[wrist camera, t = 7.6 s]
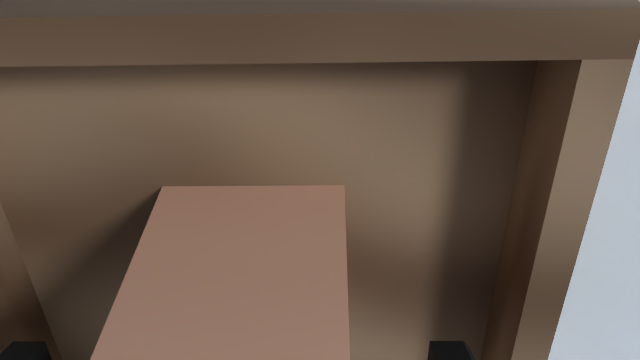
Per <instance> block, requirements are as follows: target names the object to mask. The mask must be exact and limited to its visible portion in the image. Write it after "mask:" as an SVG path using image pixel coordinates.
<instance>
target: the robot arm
mask: <svg viewBox="0 0 640 360" xmlns="http://www.w3.org/2000/svg"><path fill="white" fill-rule="evenodd" d="M0 360H52V358H51V355H50V353H49V350H48V348H47V345H46V343H45V341H13V342H12V343H11V344H10V345H9V346H8V347H7V348H6V349H5V350H3V351H2V352H1V353H0ZM427 360H475V359H474V357H473V355H472V353H471V351H470V348H469V346H468V345H467V344H466V343H465V342H464V341H430V343H429V351H428V359H427Z"/></svg>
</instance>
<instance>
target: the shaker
mask: <svg viewBox="0 0 640 360" xmlns="http://www.w3.org/2000/svg"><path fill="white" fill-rule="evenodd" d="M90 360H350V341H349V310H348V279H347V248H346V217H345V186H344V185H309V186H162V188H161V191H160V193H159V196H158V198H157V200H156V203H155V205H154V208H153V210H152V212H151V215H150V217H149V220H148V222H147V224H146V227H145V229H144V232H143V234H142V236H141V239H140V241H139V244H138V246H137V248H136V251H135V253H134V256H133V258H132V260H131V263H130V265H129V268H128V270H127V272H126V275H125V277H124V280H123V282H122V284H121V287H120V289H119V292H118V294H117V296H116V299H115V301H114V304H113V306H112V308H111V311H110V313H109V316H108V318H107V320H106V323H105V325H104V328H103V330H102V332H101V335H100V337H99V340H98V342H97V344H96V347H95V349H94V352H93V354H92V356H91V359H90Z"/></svg>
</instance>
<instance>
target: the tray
mask: <svg viewBox="0 0 640 360" xmlns="http://www.w3.org/2000/svg"><path fill="white" fill-rule="evenodd" d="M639 40H640V2H639V1H638V0H0V353H1V352H2V351H3V350H5V349H6V348H7V347H8V346H9V345H10V344H11V343H12V342H13V341H45V343H46V345H47V348H48V350H49V353H50V355H51V358H52V360H90V359H91V356H92V354H93V352H94V349H95V347H96V344H97V342H98V340H99V337H100V335H101V332H102V330H103V328H104V325H105V323H106V320H107V318H108V316H109V313H110V311H111V308H112V306H113V304H114V301H115V299H116V296H117V294H118V292H119V289H120V287H121V284H122V282H123V280H124V277H125V275H126V272H127V270H128V268H129V265H130V263H131V260H132V258H133V256H134V253H135V251H136V248H137V246H138V244H139V241H140V239H141V236H142V234H143V232H144V229H145V227H146V224H147V222H148V220H149V217H150V215H151V212H152V210H153V208H154V205H155V203H156V200H157V198H158V196H159V193H160V191H161V188H162V186H309V185H344V186H345V217H346V248H347V279H348V310H349V341H350V360H427V359H428V351H429V343H430V341H464V342H465V343H466V344H467V345H468V346H469V348H470V351H471V353H472V355H473V357H474V359H475V360H547V359H548V356H549V352H550V349H551V345H552V342H553V339H554V335H555V332H556V328H557V325H558V321H559V318H560V314H561V311H562V307H563V304H564V300H565V297H566V293H567V290H568V286H569V283H570V280H571V276H572V273H573V269H574V266H575V262H576V259H577V255H578V252H579V248H580V245H581V241H582V238H583V234H584V231H585V227H586V224H587V221H588V217H589V214H590V210H591V207H592V203H593V200H594V196H595V193H596V189H597V186H598V182H599V179H600V175H601V172H602V168H603V165H604V162H605V158H606V155H607V151H608V148H609V144H610V141H611V137H612V134H613V130H614V127H615V123H616V120H617V116H618V113H619V109H620V106H621V103H622V99H623V96H624V92H625V89H626V85H627V82H628V78H629V75H630V71H631V68H632V64H633V61H634V57H635V54H636V50H637V47H638V44H639Z"/></svg>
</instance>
